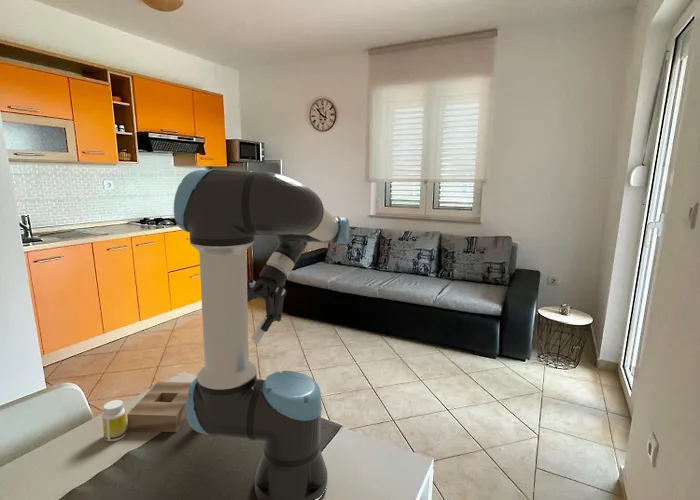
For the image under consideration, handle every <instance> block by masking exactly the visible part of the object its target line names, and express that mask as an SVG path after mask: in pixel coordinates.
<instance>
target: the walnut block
mask: <svg viewBox="0 0 700 500" xmlns="http://www.w3.org/2000/svg"><path fill="white" fill-rule="evenodd" d="M191 384H192V382H187V381H185V382H184V381H183V382H182V381H157V382H156V383H155V384H154V385H153V386H152V388H151V389H150V390H148V392H147V393H145V395H144V396H143V397H142V398H141V399H140V400H139V401H138V402H137V403H136V405H134V406H133V408H132V409H131V410H129V412H128V413H127V414H126V416H127V417H126V419H127V430H128V432H132V431H133V432H165V433H167V432H168V433H169V432H170V433H177V432H178V430H179V429H180V427H182V424H183V423H184V422H185V420H186V419H187V415H186V399H187V398H188V396H189V395H188V390H189V388H190V385H191Z"/></svg>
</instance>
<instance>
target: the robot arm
mask: <svg viewBox="0 0 700 500" xmlns="http://www.w3.org/2000/svg"><path fill="white" fill-rule="evenodd" d="M173 217H174V220H175V222H176V224H177V226H178V227H179V228H180V229H181V230H182V231H184V232H186V233H189V245H191V246H192V247H193V248H194V249H195V250H197V251H198V253H199V273H200V275H199V276H200V294H201V295H200V296H201V297H200V298H201V313H202V332H203V333H202V335H203V337H202V338H203V357H204V366H203V367H202V368H201V369H200V370H199V371H198V373H197V376H196V377H195V378H194V379H193V380H192V381H191V383H192V384H191V385H190V388H189V390H188V395H189V396H188V398H187V399H186V415H187V417H186V419H187V422H188V424H189V426H190V427H191V428H192V429H193V430H194V431H196V432H197V433H200V434H203V435H208V436H212V437H224V438H225V437H226V438H233V439H240V440H245V441H247V440H249V441H256V442H262V443H263V452H262V456H261V459H260V461H259V464H258V467H257V469H256V472H255V475H254V476H255V477H254V493H255V496H256V499H257V500H315V499H317V498H319V497H320V496H321V495H322V494H323V492H324V491H325V489H326V490H327V488H326V486H327V487H328V469H327V465H326V463H325V459H324V457H323V453H322V451H321V425H322V423H321V422H322V410H323V404H322V392H321V388H320V386H319V384H318V383H317V381H315V380H314V379H313V378H312V377H310V376H309V375H307V374H305V373H303V372H299V371H292V370H283V371H282V372H280V371H275V372H274V373H271V374H269V375H268V376H267V377H266V378H265V379H261V378H260V379H259V378H258V377H257V375H258V373H257V372H258V371H257V367H256V365H255V364H254V362H252V361H250V359H249V357H250V356H249V355H250V351H249V313H248V312H249V311H248V308H249V307H248V303H249V302H250V301H252V300H254V299H261V300H262V299H263V301H264V300H265V314H266V315H265V316H263V317H262V319H261V320H260V322H259V323H258V325H257V327H256V329H255V330H254V332H253V333H252V335H251V337H250V339H251V340H252V341H254V342H255V343H256V344H259V343H260V341H261V339H262V337H263V336H264V334H265V333H267V332H268V331H269V328H270V327H271V326H272V324H273V323H275V322H280V321H281V320H282V315H283V310H284V309H283V307H284V302H285V296H286V294H287V290H286V289H285V288H284V287H283V286H284V284H285V282H286V281H287V277H289V275H290V274H291V272H292V271H293V269H294V267H295V266H296V264H297V262H298V260H299V259H300V257H301V255H302V254H303V253H304V251H305V250H306V248H307V246H308V244H309V242H310V243H324V244H326V243H327V244H334V245H337V244H339V245H340V244H346V243H348V241H349V234H350V221H349V219H348V218H347V217H343V216H333V214H332V213H330V212H329V211H328V210H327V209H326V207H324V204H323V201H322V200H321V197H320V196H319V195H318V194H317V193H316V192H315V191H313V190H312V189H311V188H309V187H308V186H306V185H305V184H303V183H301V182H300V181H297V180H295V179H293V178H291V177H288V176H285V175H283V174H280V173H278V172H277V173H276V172H271V171H263V170H262V171H253V170H231V169H217V168H216V169H215V168H212V169H198V170H197V169H196V170H192V171H191V172H189V173H188V174H186V175H185V176H184V177H183V179H182V180H181V182H180V183H179V184H178V186H177V189H176V192H175V195H174V200H173ZM255 236H274V237H275V239H276V242H277V244H278V245H277V246H276V248H275V249H274V251H273V252H272V254H271V255H270V257H269V259H267V262H266V265H264V267H263V268H262V269H261V271H260V273H259V274H258V275H259V277H258V278H259V279H257V281H255V280H254V279H252V278H249V279H248V272H247V271H248V268H247V267H248V265H247V263H248V262H247V260H248V259H247V258H248V257H247V250H248V249H249V248H251V247H252V245H253V244H254V243H255ZM325 492H326V491H325Z"/></svg>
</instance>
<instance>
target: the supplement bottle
mask: <svg viewBox="0 0 700 500" xmlns="http://www.w3.org/2000/svg"><path fill="white" fill-rule="evenodd" d="M126 416H127V414H126V410H125V408H124V402H123V401H122V400H121V399H120V400H119V399H115V400H111V401H108V402H106V403H104V405H103V413H102V428H103V438H104V441H107V442H116V441H119V440H121V439H123V438H124V437H125V436H126V435H127V430H128V427H127V417H126Z"/></svg>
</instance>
